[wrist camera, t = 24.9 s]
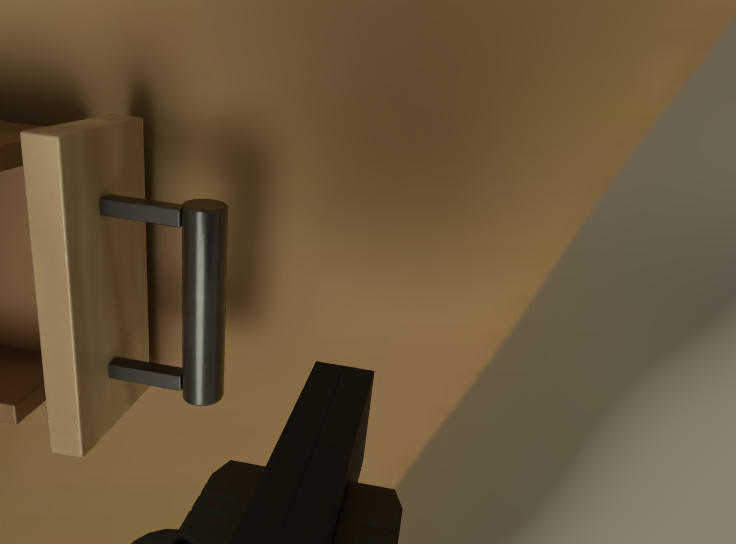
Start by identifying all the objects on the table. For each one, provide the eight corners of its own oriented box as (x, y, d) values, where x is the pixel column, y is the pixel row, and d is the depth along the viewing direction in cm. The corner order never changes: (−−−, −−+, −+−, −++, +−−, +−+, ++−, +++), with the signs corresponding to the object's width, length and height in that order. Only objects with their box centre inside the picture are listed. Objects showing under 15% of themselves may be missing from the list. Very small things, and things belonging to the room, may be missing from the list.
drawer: (257, 132, 21) (200, 156, 16) (246, 403, 25) (197, 482, 20) (-176, 75, 23) (-334, 82, 18) (-122, 337, 26) (-242, 395, 22)
